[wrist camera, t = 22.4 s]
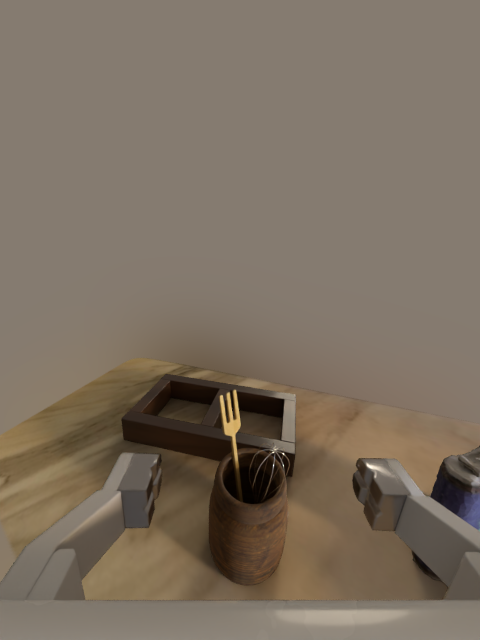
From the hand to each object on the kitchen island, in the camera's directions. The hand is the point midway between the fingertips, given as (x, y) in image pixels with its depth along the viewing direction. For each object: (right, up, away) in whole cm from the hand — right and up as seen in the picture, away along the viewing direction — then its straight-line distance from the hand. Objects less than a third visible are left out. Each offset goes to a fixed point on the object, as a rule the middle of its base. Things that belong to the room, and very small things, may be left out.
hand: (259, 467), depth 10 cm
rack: (-4, -8, +22) cm, 24 cm away
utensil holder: (0, -12, +10) cm, 15 cm away
